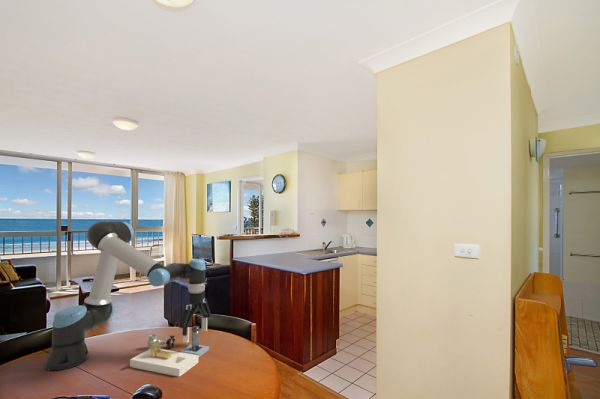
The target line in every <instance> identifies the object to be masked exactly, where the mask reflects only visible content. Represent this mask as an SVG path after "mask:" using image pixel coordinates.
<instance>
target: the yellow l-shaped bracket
mask: <svg viewBox="0 0 600 399" xmlns="http://www.w3.org/2000/svg"><path fill="white" fill-rule="evenodd" d="M161 345H162V344H161V343H159V342H156V343H154V344H152V345H151V350H150V356H151V357H161V358H166V359H168V358H170V357H171V353H172V352H168V351H162V350H160V349H161V347H162V346H161Z"/></svg>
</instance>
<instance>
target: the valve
mask: <svg viewBox="0 0 600 399" xmlns="http://www.w3.org/2000/svg"><path fill="white" fill-rule="evenodd" d="M175 337H176V336H175V335H170V336H169V338H168V339H167V340H162V339H161V338H157V333H152V334H150V335H148V341H147V346H148V350H149V349H151V345H152V344H154V343H156V342H159V343H161V345H165V344H166V347H167V350H170V349H171V348H172V347H173V346H175V341H176V338H175Z"/></svg>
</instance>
